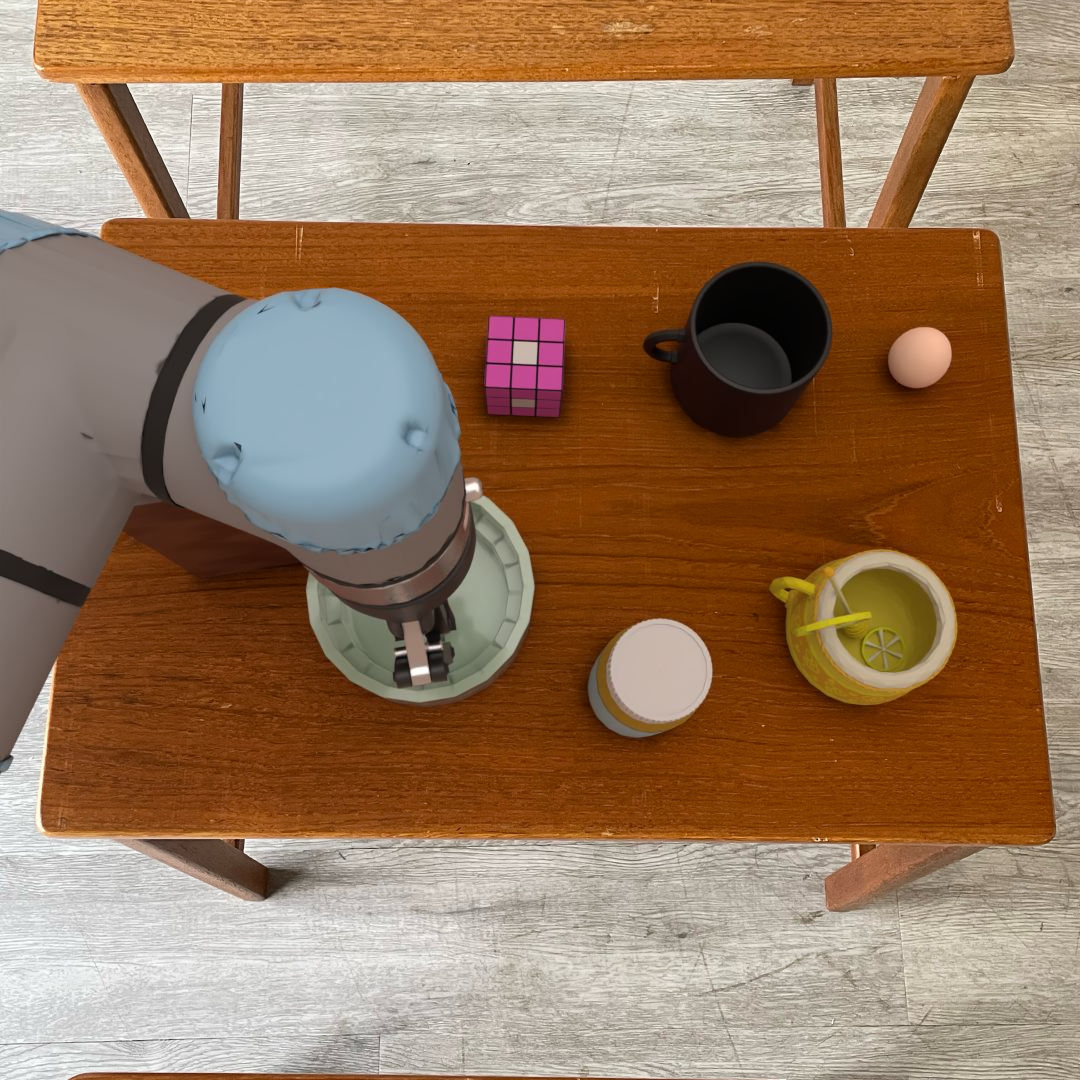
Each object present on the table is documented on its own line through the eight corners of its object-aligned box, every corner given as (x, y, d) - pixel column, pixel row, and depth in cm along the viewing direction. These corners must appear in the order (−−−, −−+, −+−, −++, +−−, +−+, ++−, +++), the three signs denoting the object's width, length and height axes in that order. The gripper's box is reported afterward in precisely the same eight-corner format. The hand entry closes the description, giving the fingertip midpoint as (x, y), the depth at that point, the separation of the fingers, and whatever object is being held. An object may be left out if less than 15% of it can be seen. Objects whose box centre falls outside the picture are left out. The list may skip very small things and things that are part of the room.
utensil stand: (200, 578, 77) (52, 488, 53) (188, 464, 79) (41, 327, 55) (320, 559, 78) (229, 461, 54) (305, 446, 80) (211, 302, 56)
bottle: (613, 625, 77) (634, 591, 63) (697, 669, 77) (739, 644, 62) (570, 709, 76) (582, 694, 61) (656, 755, 75) (688, 750, 61)
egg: (942, 390, 82) (973, 362, 76) (889, 403, 82) (916, 376, 76) (924, 339, 83) (952, 308, 77) (871, 352, 82) (896, 321, 77)
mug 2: (945, 599, 78) (1020, 568, 66) (891, 732, 76) (959, 724, 64) (789, 526, 79) (835, 483, 67) (732, 655, 77) (769, 633, 65)
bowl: (337, 723, 75) (321, 719, 69) (311, 517, 79) (294, 497, 73) (548, 687, 76) (551, 680, 70) (514, 485, 80) (513, 462, 74)
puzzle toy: (562, 349, 82) (565, 318, 76) (559, 417, 81) (562, 391, 75) (490, 345, 82) (488, 314, 76) (486, 414, 81) (484, 387, 75)
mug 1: (640, 310, 83) (655, 250, 73) (799, 324, 83) (835, 266, 73) (631, 429, 81) (646, 384, 71) (795, 444, 81) (831, 400, 71)
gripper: (498, 680, 43) (507, 713, 66) (446, 347, 46) (472, 489, 69) (318, 709, 43) (390, 732, 66) (279, 372, 46) (360, 506, 69)
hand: (432, 607), depth 68 cm, fingers closed on stirring stick, 2 cm apart
